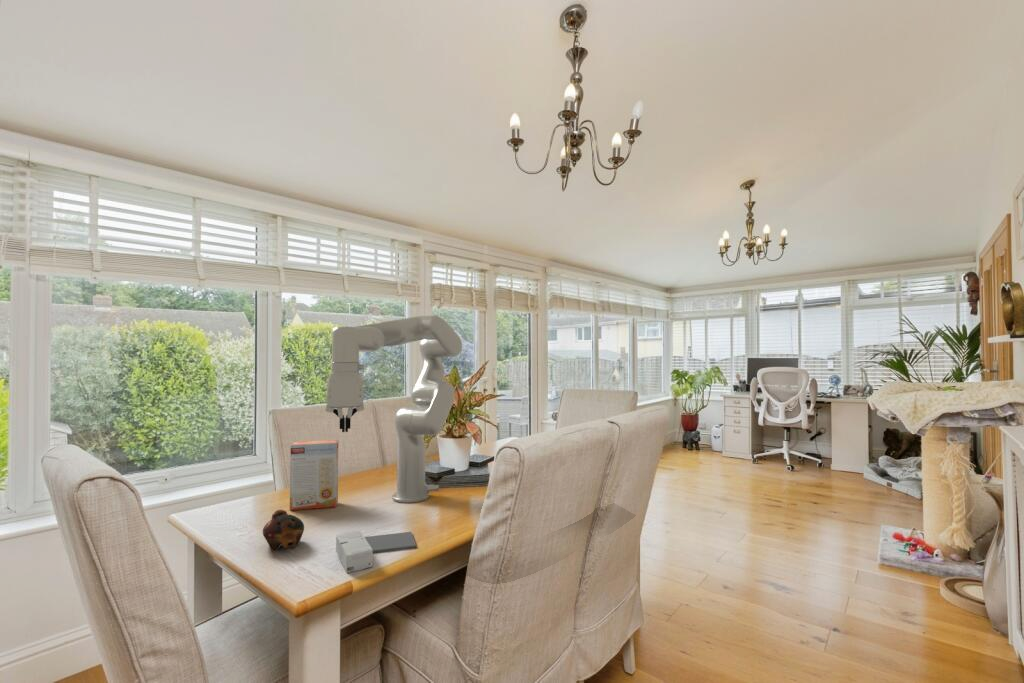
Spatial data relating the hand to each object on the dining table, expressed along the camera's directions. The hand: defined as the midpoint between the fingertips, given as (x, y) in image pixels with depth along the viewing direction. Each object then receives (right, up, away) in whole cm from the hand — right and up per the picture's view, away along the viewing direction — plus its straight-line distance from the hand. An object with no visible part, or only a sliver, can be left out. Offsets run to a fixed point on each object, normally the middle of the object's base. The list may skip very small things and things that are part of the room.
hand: (344, 431), depth 138 cm
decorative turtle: (-10, -27, -17) cm, 33 cm away
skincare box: (+8, -24, -20) cm, 32 cm away
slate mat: (+16, -26, -15) cm, 34 cm away
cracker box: (-15, -28, +15) cm, 35 cm away
